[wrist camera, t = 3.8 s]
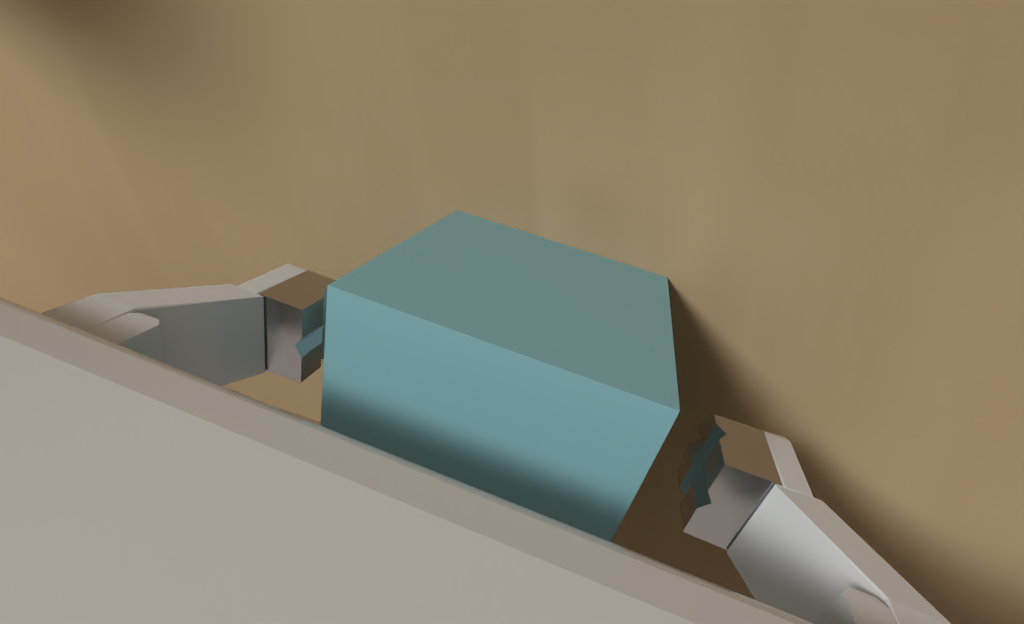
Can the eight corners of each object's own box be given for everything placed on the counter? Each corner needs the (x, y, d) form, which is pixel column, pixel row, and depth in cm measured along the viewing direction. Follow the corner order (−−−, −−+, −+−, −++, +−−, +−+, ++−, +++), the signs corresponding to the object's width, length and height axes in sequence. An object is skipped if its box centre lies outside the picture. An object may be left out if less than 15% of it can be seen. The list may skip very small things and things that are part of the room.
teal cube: (667, 276, 10) (680, 410, 6) (595, 440, 12) (566, 625, 8) (458, 209, 11) (328, 284, 6) (427, 377, 13) (315, 516, 9)
